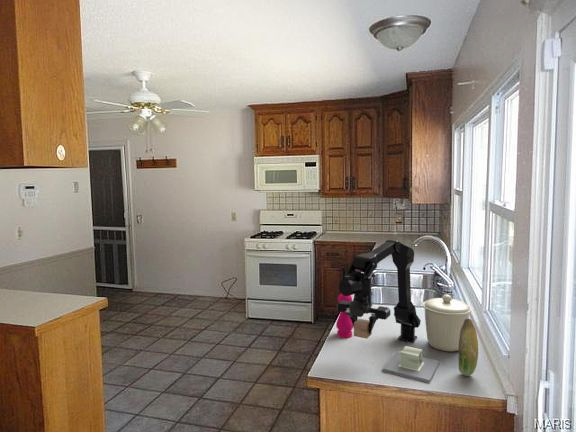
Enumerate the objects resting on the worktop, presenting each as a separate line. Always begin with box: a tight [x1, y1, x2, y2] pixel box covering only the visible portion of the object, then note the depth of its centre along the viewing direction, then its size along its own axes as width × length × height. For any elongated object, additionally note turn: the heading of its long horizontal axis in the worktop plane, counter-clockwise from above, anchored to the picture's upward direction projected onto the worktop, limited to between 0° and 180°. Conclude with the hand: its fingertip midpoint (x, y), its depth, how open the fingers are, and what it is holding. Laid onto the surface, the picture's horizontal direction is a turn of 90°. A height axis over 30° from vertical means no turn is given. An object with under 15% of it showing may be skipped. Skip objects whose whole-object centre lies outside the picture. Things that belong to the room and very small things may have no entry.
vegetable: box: [457, 317, 479, 377], centre depth 137 cm, size 6×6×20 cm
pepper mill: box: [335, 292, 354, 339], centre depth 173 cm, size 7×7×20 cm
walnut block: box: [353, 318, 372, 340], centre depth 149 cm, size 5×5×5 cm
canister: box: [422, 294, 473, 352], centre depth 162 cm, size 18×18×21 cm
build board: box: [381, 351, 441, 384], centre depth 145 cm, size 16×16×1 cm
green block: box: [401, 345, 423, 370], centre depth 145 cm, size 6×6×5 cm
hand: (362, 332), depth 149 cm, fingers closed on walnut block, 5 cm apart
